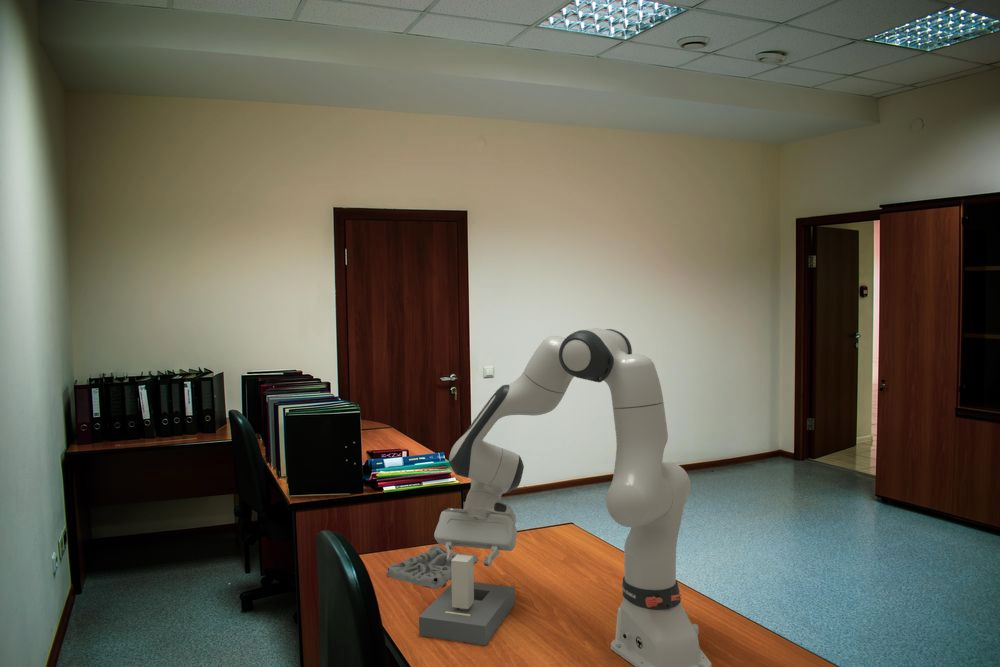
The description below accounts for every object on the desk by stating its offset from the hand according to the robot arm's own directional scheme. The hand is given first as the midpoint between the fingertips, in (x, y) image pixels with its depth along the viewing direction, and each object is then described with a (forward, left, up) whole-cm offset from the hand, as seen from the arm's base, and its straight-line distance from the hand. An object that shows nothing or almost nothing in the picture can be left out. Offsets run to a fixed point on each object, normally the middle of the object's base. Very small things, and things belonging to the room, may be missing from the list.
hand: (468, 563), depth 169 cm
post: (-3, +2, -14) cm, 14 cm away
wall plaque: (+34, +1, -14) cm, 37 cm away
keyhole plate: (0, 0, -14) cm, 14 cm away
